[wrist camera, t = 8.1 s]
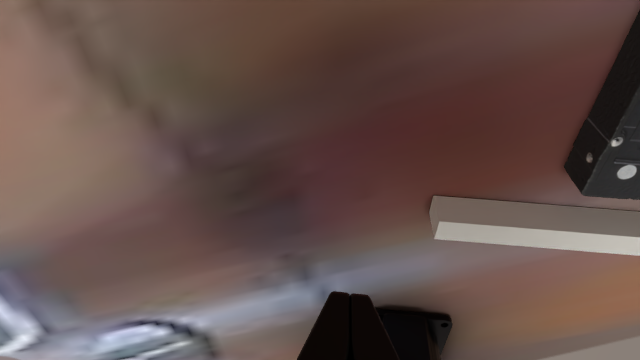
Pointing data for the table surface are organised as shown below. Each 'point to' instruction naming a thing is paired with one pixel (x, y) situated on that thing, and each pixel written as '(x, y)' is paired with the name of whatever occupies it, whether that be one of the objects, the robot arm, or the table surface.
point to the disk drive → (612, 131)
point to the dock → (535, 225)
